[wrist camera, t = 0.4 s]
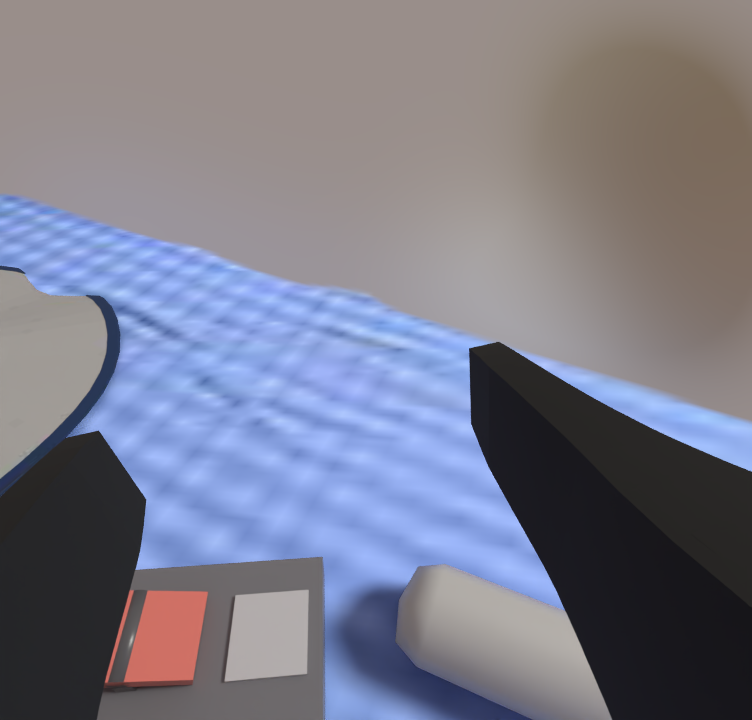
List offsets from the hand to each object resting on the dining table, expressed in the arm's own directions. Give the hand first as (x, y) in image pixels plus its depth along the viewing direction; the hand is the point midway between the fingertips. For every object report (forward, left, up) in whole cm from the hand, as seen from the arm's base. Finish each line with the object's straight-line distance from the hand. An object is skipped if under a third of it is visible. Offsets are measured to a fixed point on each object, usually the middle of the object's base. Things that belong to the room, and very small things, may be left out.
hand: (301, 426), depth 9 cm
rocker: (+1, +9, -16) cm, 18 cm away
